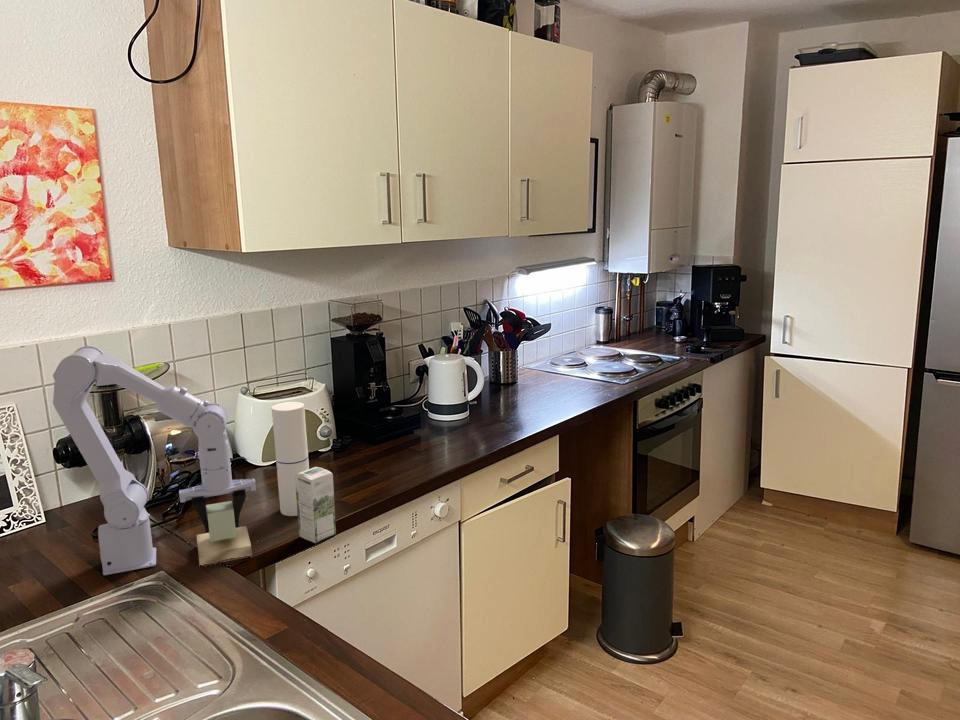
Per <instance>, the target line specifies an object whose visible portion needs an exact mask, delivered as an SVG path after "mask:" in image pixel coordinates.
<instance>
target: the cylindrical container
mask: <svg viewBox="0 0 960 720" xmlns="http://www.w3.org/2000/svg"><path fill="white" fill-rule="evenodd" d="M271 417H272V425H273V426H272V429H273V438H274V439H273V440H274V452H275V461H276V463H275V464H276V475H277V485H278V486H277V487H278V497H279V498H278V499H279V508H280V510H279V511H280V513H281V514H282V515H283V516H287V517H295V516H296V517H298V515H297V501H296V487H295V474H297V473H300V472H303V471H306V470H308V469H310V465H309V464H310V462H309V461H310V460H309V448H308V439H307V438H308V437H307V425H306V424H307V423H306V411H305V403H304V402H300V401H286V402H279V403H277V404H273V405H272V406H271Z"/></svg>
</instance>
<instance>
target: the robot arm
mask: <svg viewBox="0 0 960 720" xmlns="http://www.w3.org/2000/svg"><path fill="white" fill-rule="evenodd" d="M52 377H53V379H54V385H53V386H54V387H53V396H52V397H53V399H52V404H53V407H54V409H55V411H56V413H57V415H58V416H59V418H60V420H61V421H62V423H63V424H64V426H65V429H67V431H68V433H69V435H70V436H71V438H72V440H73V442H74V443H75V445H76V447H77V448H78V451H79V452H80V454H81V456H82V457H83V460H84V461H85V463H86V465H87V467H88V468H89V469H90V471H91V473H92V475H93V476H94V478H95V480H96V482H97V484H98V486H99V499H100V501H101V503H102V505H103V509H104V510H103V515H104V518H105V520H106V522H107V523H104V524H100V525H98V529H97V532H98V533H97V534H98V535H97V536H98V546H99V547H98V548H99V555H100V557H99V558H100V562H101V566H102V575H103V576H109V575H114V574H119V573H125V572H130V571H134V570H139V569H145V568H150V567H156V565H157V547H153V538H152V530H151V529H152V528H151V523H150V521H151V520H150V515H149V513H148V512H147V509H146V508H145V506H146V504H147V503H148V500H149V496H150V495H149V491H148V489H147V487H146V486H145V485H144V484H143V483H141V482H139V481H138V480H137V479H136V477H135V476H134V474H133V473H132V472H131V471H128V470H127V469H125V467H124V466H123V463H122V461H121V460H120V458H119V456H118V455H117V453H116V451H115V449H114V448H113V445H112V443H111V442H110V440H109V439H108V437H107V435H106V434H105V432H104V429H103V428H102V426H101V423H99V421H98V419H97V417H96V416H95V414H94V411H93V410H92V408H91V407H90V405H89V403H88V401H87V398H88V397H89V394H90V392H91V391H92V388H93V387H94V386H93V385H94V384H95V387H100V386H101V387H102V386H110V385H117V386H120V387H121V388H124V389H126V390H128V391H131V392H132V393H134V394H137V395H139V396H141V397H143V398H146V399H147V400H149V401H152V402H154V403H155V404H156V407H157V409H158V412H159V413H160V414H163V415H165V416H167V417H169V418H171V419H172V420H174V421H176V422H178V423H180V424H182V425H184V426H186V427H189V428H191V429H192V430H193V433H194V434H195V436H196V437H197V441H198V445H197V448H198V458H199V467H200V475H201V484H200V485H196V486H191V487H188V488H185V489H179V491H178V494H179V502H180V503H186V502H187V501H190V500H191V505H192V507H193V509H194V510H195V512H196V514H198V516H199V518H200V519H201V521H202V525H203V527H204V530H205V533H209V525H208V518H207V509H206V505H207V504H206V498H210V497H215V496H223V495H228V494H229V495H230V494H231V498H232V499H231V501H232V505H233V509H234V518H235V528H238V527H239V522H240V514H241V512H242V508H243V505H244V503H245V501H246V496H247V495H246V491H250V492H254V491H255V492H256V491H257V484H256V479H255V478H247V479H233V477H232V476H233V475H232V467H231V457H230V456H231V455H230V454H231V453H230V447H229V445H230V444H229V440H228V433H227V429H226V426H227V423H228V414H227V412H226V410H225V408H223V407H222V406H220V404H219V403H214V402H210V401H209V400H207V399H205V400H202V399H201V398H198V397H197V396H195V395H194V394H191V393H189V392H188V390H189V389H188V388H186V387H184V386H181V387H179V386H176V385H173V386H169V387H165V386H163V385H161V384H160V383H158V382H156V381H155V380H153V379H152V378H150V377H148V376H147V375H144V374H143V373H142V372H140V371H138V370H136V369H134V368H133V367H132V366H130V365H128V364H126V363H125V362H123V361H121V360H120V359H118V358H117V357H116V356H115V355H112V354H111V353H108V352H107V351H106V352H103V351H102V350H101V349H99V347H95V346H92V345H85V346H81V347H79V348H78V349H76V350H75V351H74V352H73V353H70V355H68V356H66V357H64V358H62V359H61V361H60V362H59V363H58V365H57V367H56V369H55V371H54V372H53V374H52Z"/></svg>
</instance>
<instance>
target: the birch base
mask: <svg viewBox="0 0 960 720" xmlns="http://www.w3.org/2000/svg"><path fill="white" fill-rule="evenodd" d="M196 543H197V552H198V553H197V554H198V561H199V563H198V564H199V566H200V565H204V564H209V563H214V562H219V561H221V560H225V559H230V558H238V557H244V556H252V557H253V550H252V543H251V540H250V535H249V531H248V528H247V525H244V526H238V527H236V537H234V538H229V539H224V540H218V541H213V542H210V535H209V532H208V533H206V532H205V533H200V534H196Z"/></svg>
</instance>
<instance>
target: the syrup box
mask: <svg viewBox="0 0 960 720" xmlns="http://www.w3.org/2000/svg"><path fill="white" fill-rule="evenodd" d="M295 487H296V501H297V515H298V516H297V525H298V526H297V527H298V528H297V529H298V536H299V537H300V538H301V539H304V540H306V541H309V542H311V543H314V544H317V543H319V542H322V541H323V540H326V539H328V538H330V537H333V536H335V535H336V533H337V530H336V529H337V528H336V525H337V524H336V511H335V510H336V508H335V491H334V489H335V488H334V474H333V473H332V472H331V471H330V470H329V469H325V468H323V467H319V466H314V467H312V468H309V469H308V470H306V471H303V472H300V473H297V474H295Z"/></svg>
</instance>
